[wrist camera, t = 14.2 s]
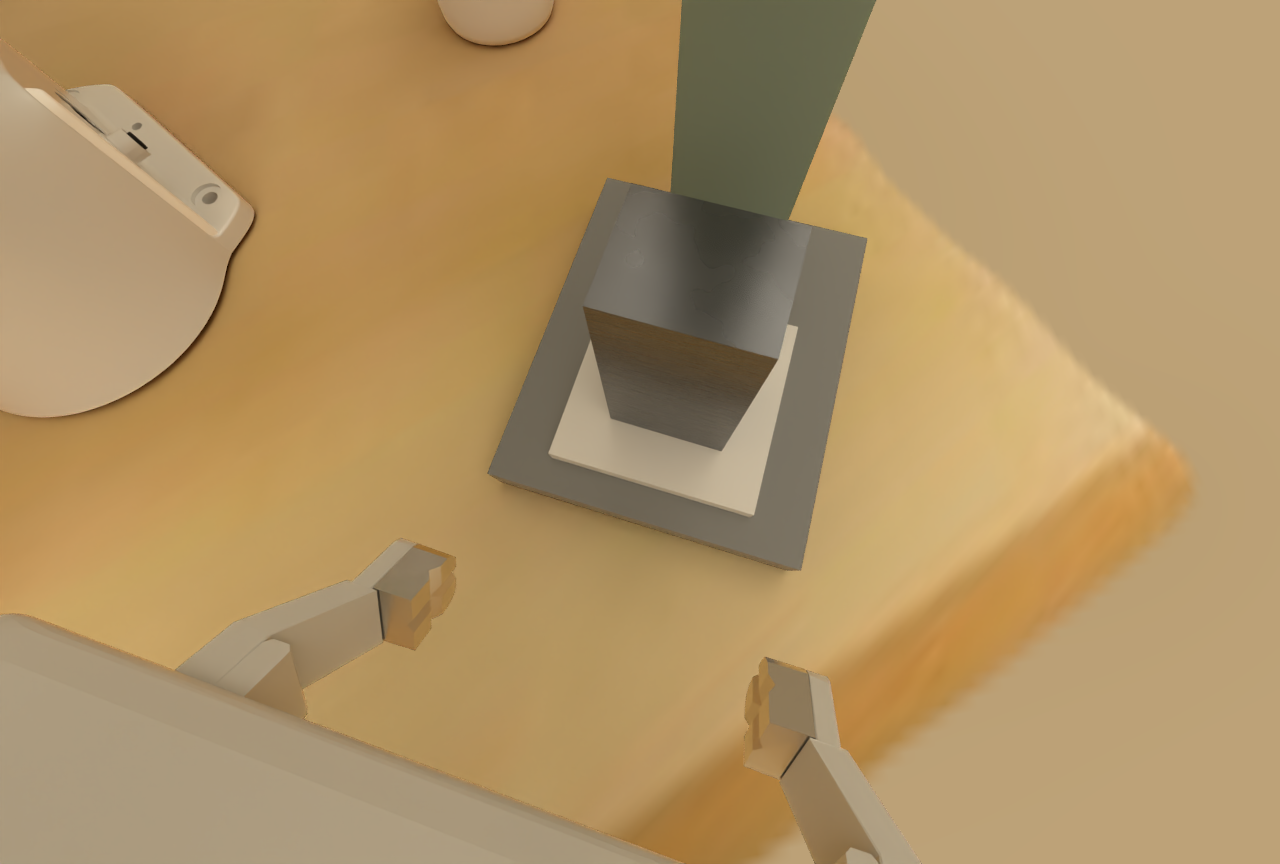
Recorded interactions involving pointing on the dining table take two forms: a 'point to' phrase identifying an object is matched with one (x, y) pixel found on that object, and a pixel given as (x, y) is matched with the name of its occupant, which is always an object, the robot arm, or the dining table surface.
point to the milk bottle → (496, 19)
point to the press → (818, 323)
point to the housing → (691, 312)
